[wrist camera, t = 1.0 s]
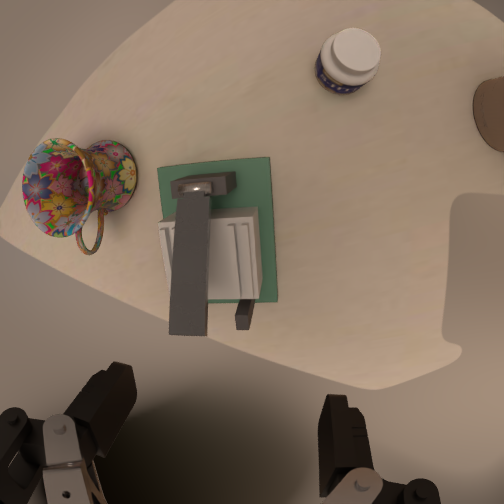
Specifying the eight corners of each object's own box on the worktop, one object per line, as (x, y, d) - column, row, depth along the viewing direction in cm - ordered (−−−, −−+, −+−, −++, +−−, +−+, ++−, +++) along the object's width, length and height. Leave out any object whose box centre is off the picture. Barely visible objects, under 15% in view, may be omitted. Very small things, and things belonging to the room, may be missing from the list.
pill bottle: (310, 89, 29) (319, 68, 21) (318, 45, 28) (328, 13, 19) (360, 101, 29) (384, 86, 21) (366, 57, 27) (391, 31, 19)
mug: (71, 153, 34) (13, 161, 24) (131, 125, 32) (77, 121, 22) (98, 241, 37) (47, 272, 27) (159, 223, 36) (115, 253, 26)
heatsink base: (269, 157, 32) (264, 159, 25) (277, 298, 37) (274, 335, 29) (160, 167, 34) (127, 174, 26) (179, 299, 38) (156, 333, 31)
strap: (212, 185, 27) (210, 179, 26) (207, 336, 23) (204, 335, 22) (182, 187, 27) (178, 182, 26) (172, 335, 24) (168, 334, 23)
